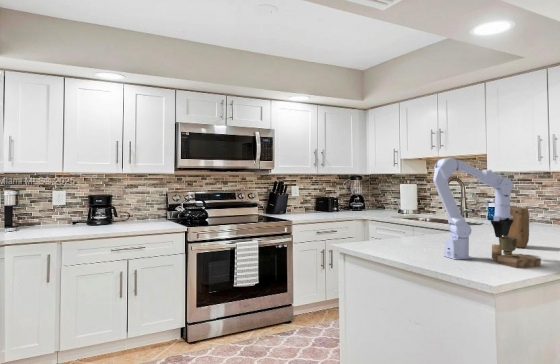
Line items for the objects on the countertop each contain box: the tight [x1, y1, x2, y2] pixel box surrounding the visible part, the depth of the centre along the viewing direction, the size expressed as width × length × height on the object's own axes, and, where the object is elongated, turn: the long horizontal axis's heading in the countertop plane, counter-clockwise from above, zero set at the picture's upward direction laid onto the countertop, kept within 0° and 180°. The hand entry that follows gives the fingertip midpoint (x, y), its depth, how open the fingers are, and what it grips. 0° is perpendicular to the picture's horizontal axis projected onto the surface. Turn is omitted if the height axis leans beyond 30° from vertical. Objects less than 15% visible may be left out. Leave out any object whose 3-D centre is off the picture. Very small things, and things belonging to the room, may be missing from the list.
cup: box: [498, 236, 518, 255], centre depth 172 cm, size 8×7×8 cm
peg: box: [491, 244, 503, 262], centre depth 159 cm, size 4×4×6 cm
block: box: [502, 206, 530, 249], centre depth 191 cm, size 11×8×20 cm
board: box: [497, 253, 542, 269], centre depth 152 cm, size 12×9×3 cm
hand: (501, 236), depth 164 cm, fingers open, 7 cm apart
